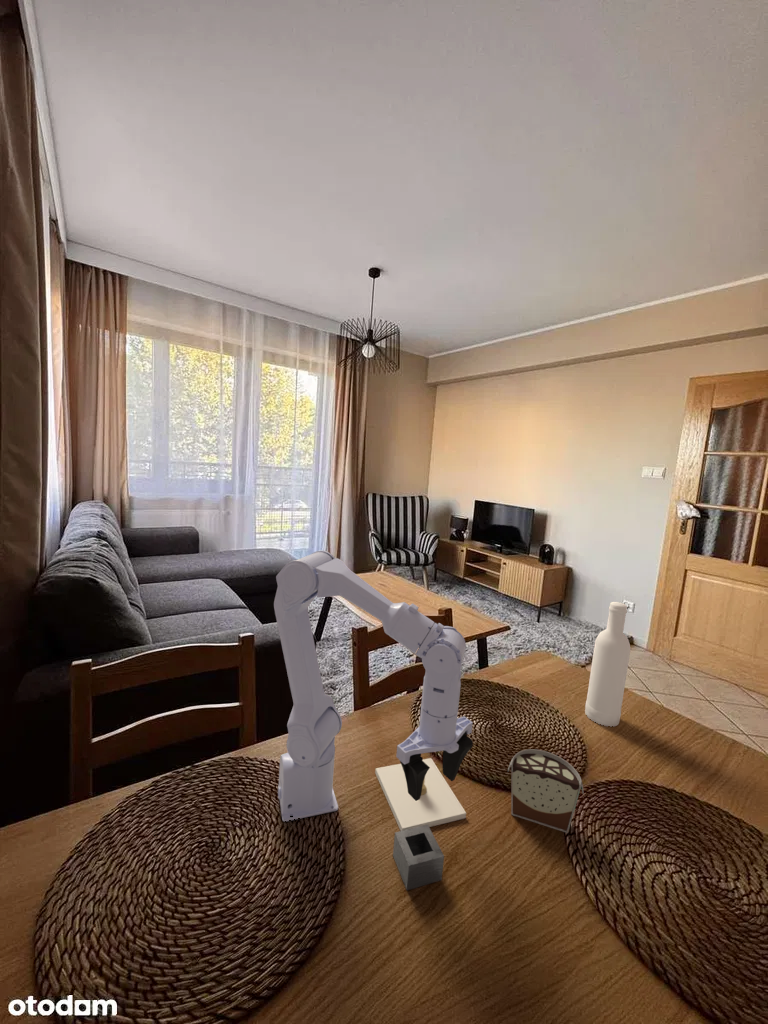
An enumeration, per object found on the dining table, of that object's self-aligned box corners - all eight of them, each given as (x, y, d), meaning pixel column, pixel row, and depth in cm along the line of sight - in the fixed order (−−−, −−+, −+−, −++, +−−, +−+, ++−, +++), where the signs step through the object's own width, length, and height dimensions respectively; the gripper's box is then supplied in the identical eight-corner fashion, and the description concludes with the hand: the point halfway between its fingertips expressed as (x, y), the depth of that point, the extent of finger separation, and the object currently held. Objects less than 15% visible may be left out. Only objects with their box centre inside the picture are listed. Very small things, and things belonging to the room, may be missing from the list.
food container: (574, 809, 78) (581, 759, 77) (577, 836, 72) (585, 782, 71) (504, 787, 82) (510, 739, 81) (502, 812, 76) (508, 760, 75)
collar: (406, 890, 61) (408, 865, 60) (392, 855, 66) (394, 832, 66) (441, 880, 63) (444, 856, 62) (425, 846, 68) (427, 824, 68)
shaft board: (401, 833, 70) (404, 803, 69) (375, 773, 83) (377, 747, 82) (465, 818, 74) (468, 789, 74) (430, 762, 87) (433, 737, 87)
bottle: (587, 704, 113) (603, 596, 110) (621, 716, 109) (638, 604, 105) (581, 718, 107) (598, 603, 103) (616, 731, 102) (635, 612, 99)
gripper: (421, 736, 59) (413, 824, 61) (490, 706, 68) (481, 784, 69) (390, 710, 65) (384, 791, 66) (457, 685, 73) (450, 758, 75)
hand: (431, 786), depth 68 cm, fingers open, 7 cm apart
